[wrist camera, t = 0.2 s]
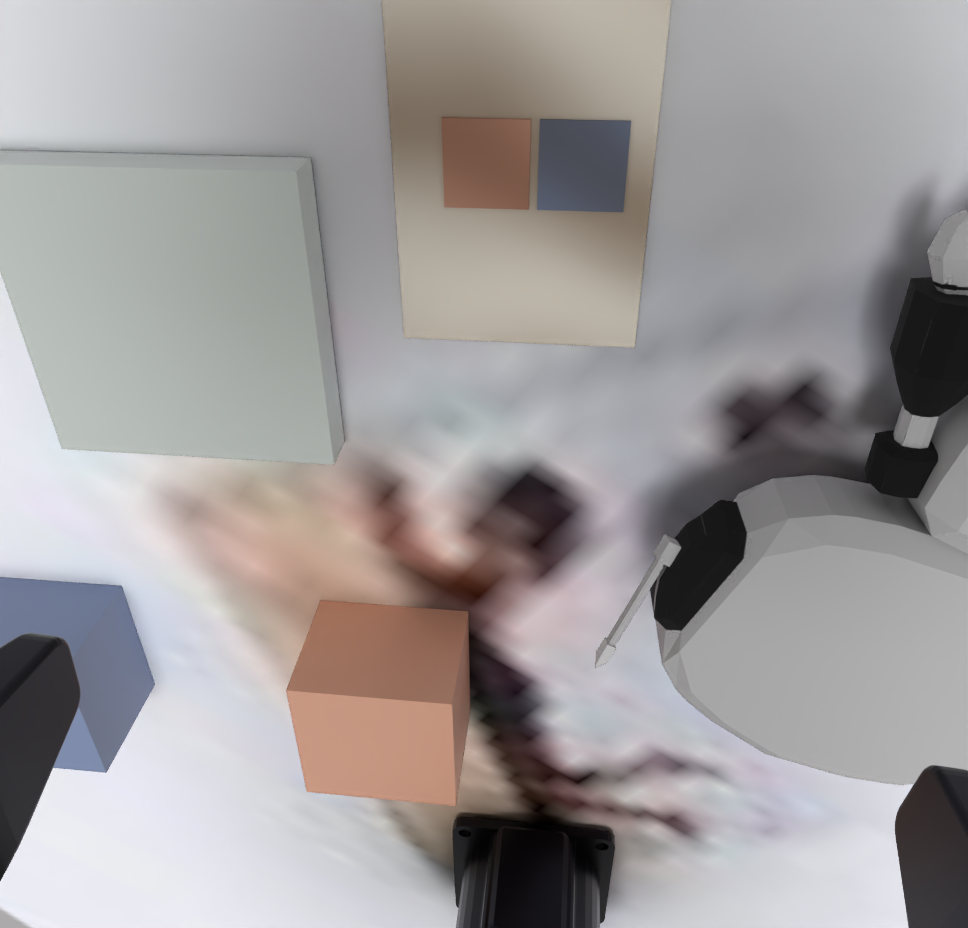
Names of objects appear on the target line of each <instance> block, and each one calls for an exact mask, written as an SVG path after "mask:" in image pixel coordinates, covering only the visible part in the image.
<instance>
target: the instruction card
mask: <svg viewBox="0 0 968 928" xmlns="http://www.w3.org/2000/svg"><path fill="white" fill-rule="evenodd" d="M671 1H672V0H382V12H383V27H384V42H385V57H386V73H387V88H388V103H389V118H390V133H391V149H392V164H393V179H394V194H395V209H396V225H397V240H398V255H399V270H400V285H401V301H402V316H403V331H404V338H421V339H444V340H468V341H491V342H514V343H537V344H561V345H584V346H607V347H630V348H635V341H636V332H637V322H638V313H639V303H640V294H641V284H642V275H643V266H644V256H645V247H646V237H647V228H648V218H649V209H650V199H651V190H652V180H653V171H654V161H655V152H656V143H657V133H658V124H659V114H660V105H661V95H662V86H663V76H664V67H665V57H666V48H667V39H668V29H669V20H670V10H671Z"/></svg>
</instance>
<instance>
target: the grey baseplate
mask: <svg viewBox="0 0 968 928" xmlns="http://www.w3.org/2000/svg"><path fill="white" fill-rule="evenodd" d="M0 272H1V275H2V278H3V281H4V283H5V286H6V289H7V292H8V295H9V298H10V301H11V304H12V307H13V309H14V312H15V315H16V318H17V321H18V324H19V327H20V330H21V332H22V335H23V338H24V341H25V344H26V347H27V350H28V353H29V355H30V358H31V361H32V364H33V367H34V370H35V373H36V376H37V378H38V381H39V384H40V387H41V390H42V393H43V396H44V399H45V402H46V404H47V407H48V410H49V413H50V416H51V419H52V422H53V425H54V427H55V430H56V433H57V436H58V439H59V442H60V445H61V448H62V449H70V450H88V451H105V452H122V453H140V454H157V455H174V456H192V457H209V458H226V459H244V460H261V461H278V462H296V463H313V464H330V465H334V464H335V462H336V459H337V457H338V455H339V453H340V450H341V448H342V446H343V444H344V442H345V441H344V432H343V424H342V416H341V407H340V399H339V390H338V382H337V374H336V365H335V357H334V348H333V340H332V331H331V323H330V315H329V306H328V298H327V289H326V281H325V273H324V264H323V256H322V247H321V239H320V230H319V222H318V214H317V205H316V197H315V188H314V180H313V172H312V163H311V157H268V156H225V155H182V154H139V153H96V152H53V151H10V150H0Z"/></svg>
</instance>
